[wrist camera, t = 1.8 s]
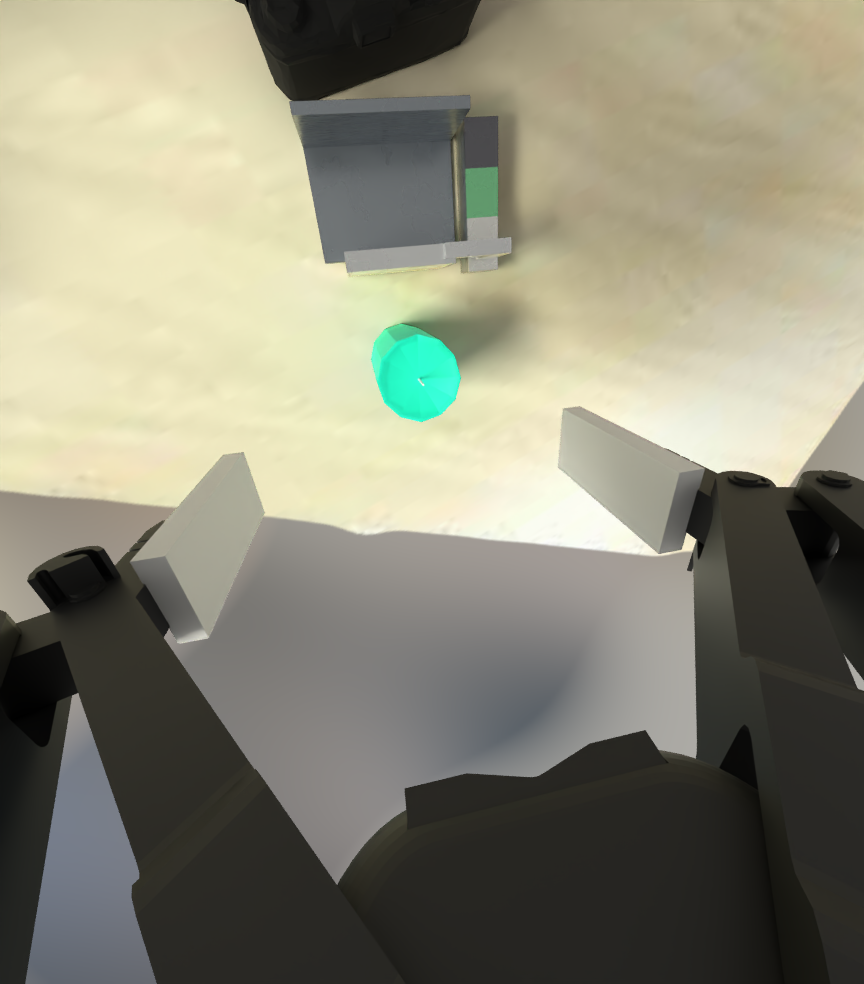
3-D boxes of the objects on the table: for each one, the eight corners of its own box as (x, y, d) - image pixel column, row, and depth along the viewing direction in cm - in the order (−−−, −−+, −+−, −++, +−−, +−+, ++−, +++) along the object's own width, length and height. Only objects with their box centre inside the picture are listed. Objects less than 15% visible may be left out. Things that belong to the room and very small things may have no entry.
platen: (348, 276, 31) (347, 272, 25) (345, 260, 31) (343, 250, 24) (483, 264, 33) (514, 257, 26) (482, 248, 32) (514, 236, 26)
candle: (434, 388, 37) (465, 424, 27) (374, 391, 36) (382, 430, 26) (433, 322, 34) (467, 335, 24) (368, 324, 34) (374, 338, 23)
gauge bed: (329, 285, 32) (324, 283, 26) (301, 138, 27) (289, 101, 22) (488, 270, 33) (512, 266, 28) (486, 130, 29) (515, 93, 24)
